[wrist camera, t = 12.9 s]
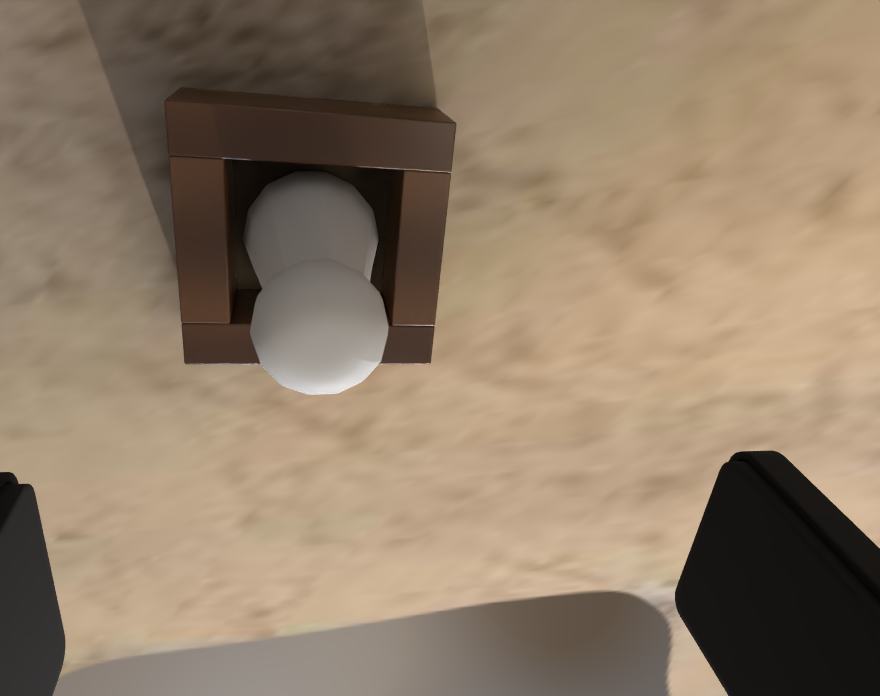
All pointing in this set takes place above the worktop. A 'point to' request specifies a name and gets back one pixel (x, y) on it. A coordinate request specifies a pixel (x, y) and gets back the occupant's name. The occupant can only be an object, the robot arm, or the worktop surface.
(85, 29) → the worktop surface
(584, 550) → the worktop surface
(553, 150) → the worktop surface
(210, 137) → the holder
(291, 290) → the salt shaker
